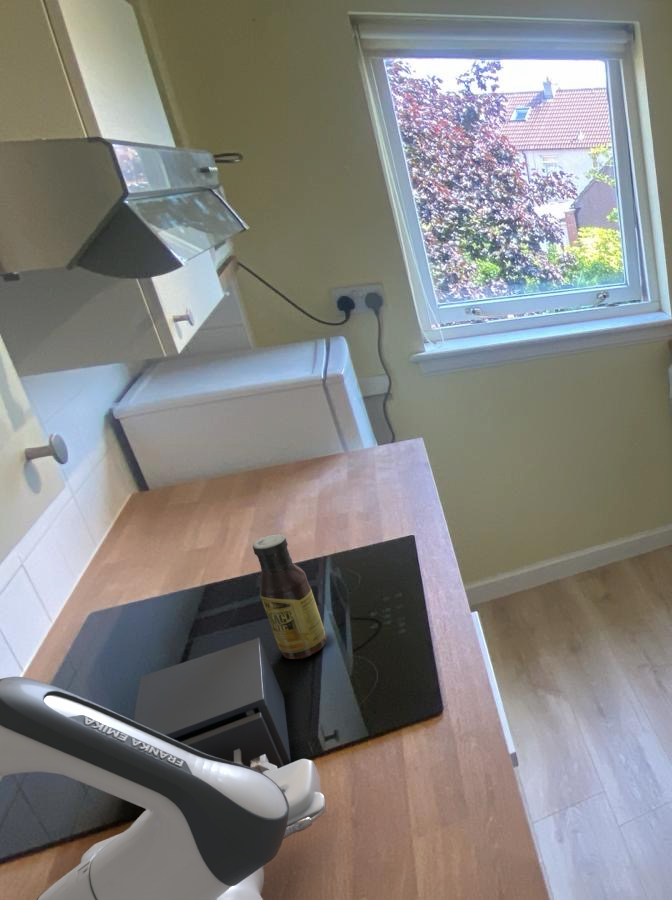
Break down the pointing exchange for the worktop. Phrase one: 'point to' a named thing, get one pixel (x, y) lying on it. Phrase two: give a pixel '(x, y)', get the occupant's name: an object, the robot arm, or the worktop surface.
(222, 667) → the cabinet
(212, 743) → the drawer
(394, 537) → the worktop surface
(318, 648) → the sauce bottle
